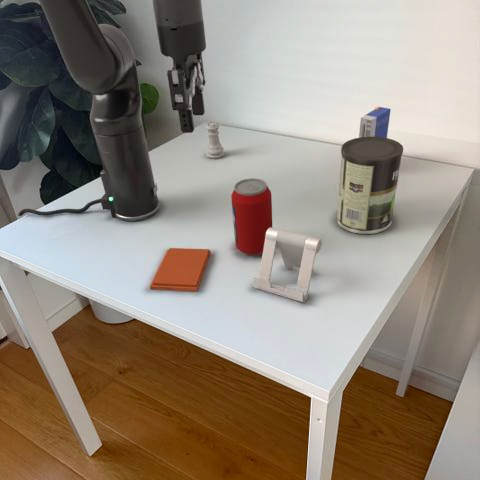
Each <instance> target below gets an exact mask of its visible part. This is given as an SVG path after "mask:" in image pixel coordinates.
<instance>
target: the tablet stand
mask: <svg viewBox="0 0 480 480" xmlns="http://www.w3.org/2000/svg"><path fill="white" fill-rule="evenodd" d="M322 245H323V240H322V238H317V237H313V236H308V235H305V234H300V233H296V232H292V231H288V230H284V229H280V228H276V227H272V228H271V227H269V228H268V230H267V232H266V237H265V243H264V249H263V253H262V256H261V262H260V269H259V272H258V273H259V274H258V277H254V278H253V279H252V280H253V281H252V282H253V283H252V285H253V288H255V289H258V290H260V291H265V292H268V293H272V294H275V295H278V296H281V297H285V298H288V299H291V300H294V301H297V302H301V303H305V302H306V300H307V298H308V294H309V289H310V283H311V279H312V274H313V271H314V266H315V265H314V264H315V259H316V256H317V255H318V254H319V253H320V251H321V249H322ZM277 246H278V250H279V253H280V255H281V258H282V261H283V265H284V267H285V268H286V269H288V270H290V271H294V268H298V269H299V273H298V278H297V282H296V287H295V289H294V288H291V287H287V286H285V287H284V286H280V285H277V284H273V283H272V282H271V278H272V277H271V276H272V270H273V264H274V258H275V252H276V247H277Z"/></svg>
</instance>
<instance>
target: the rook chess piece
mask: <svg viewBox="0 0 480 480" xmlns="http://www.w3.org/2000/svg"><path fill="white" fill-rule="evenodd" d="M219 128H220V125H219V124H218V121H217V120H213V121H212V120H209V121H207V122H206V125H205V129H206V130H207V135H208V144H207V147H206V156H207V158H209V159H213V160H214V159H215V160H216V159H221V158H222V157H224V155H225V151H224V149H225V148H224V146H222V143H221V141H220V137H219V134H220V132H219Z"/></svg>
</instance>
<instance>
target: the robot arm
mask: <svg viewBox="0 0 480 480" xmlns="http://www.w3.org/2000/svg"><path fill="white" fill-rule="evenodd" d="M38 2H39V4H40V6H41V8H42V10H43V13H44V15H45V18H46V20H47V21H48V25H49V27H50V29H51V32H52V34H53V35H52V36H53V37H54V39H55V42H56V44H57V47H58V50H59V52H60V55H61V57H62V59H63V62H64V64H65V66H66V69H67V71H68V72H69V74H70V76H71V77H72V79H73V81H74V82H75V83H76V84H77V85H78V86H79V87H80V88H81V89H82V90H84V91H85V92H87V93H88V94H91V95H92V103H91V109H90V113H89V121H90V126H91V130H92V134H93V136H94V140H95V144H96V148H97V151H98V155H99V158H100V163H101V166H102V170H101V171H100V173H99V175H100V179H101V182H102V186H103V190H104V193H103V195H102V197H100V198H98V199H95V200H91V201H89V202H87V203H86V204H85V205H84V206H83V207H81V208H60V209H55V210H48V211H41V210H36V209H34V208H33V209H32V208H23V209H20V211H19V212H18V214H17V216H18V217H21V216H23V215H24V214H26V213H28V214H33V215H38V216H43V217H44V216H45V217H47V216H54V215H58V214H69V213H70V214H81V213H84V212H87V210H88V209H89V208H91V207H92V206H94V205H98V204H100V205H101V208H102V210H104V211H105V210H106V211H110V215H111V217H112V218H117V219H119V220H120V221H125V222H137V221H143V220H147V219H149V218H151V217H153V216H154V215H156V214H157V213H158V212H159V211H160V201H159V198H158V189H159V188H158V185H157V184H158V183H156V182H155V178H154V173H153V168H152V163H151V157H150V152H149V148H148V143H147V139H146V134H145V133H146V132H145V129H144V124H143V118H142V110H143V109H142V107H143V99H142V93H141V86H140V85H141V84H140V79H139V74H138V68H137V63H136V57H135V54H134V50H133V48H132V45H131V43H130V41H129V39H128V38H127V36H126V35H125V33H124V32H122V31H121V30H120V29H119V28H117V27H116V26H114V25H112V24H107V23H99V24H98V22H97V19H96V17H95V15H94V14H93V11H92V8H91V7H90V5H89V3H88V0H38ZM152 8H153V13H154V20H155V21H154V22H155V26H156V30H157V32H156V33H157V38H158V44H159V50H160V53H161V55H162V56H164V57H167V58H168V57H169V58H170V59H172V65H173V66H172V68H171V69H168V70H167V71H166V76H167V81H168V88H169V95H170V102H171V108H172V111H177V113H178V119H179V125H180V131H181V132H182V133H183V134H192V133H193V132H194V131H195V123H194V116H204V115H205V112H206V109H205V100H204V92H205V88H204V86H206V77H205V76H206V75H205V70H204V63H203V52H204V51H205V50H206V49H207V42H206V41H207V40H206V31H205V22H204V15H203V4H202V0H152ZM181 98H182V99H181ZM181 100H182V101H181Z"/></svg>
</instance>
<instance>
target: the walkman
mask: <svg viewBox="0 0 480 480" xmlns="http://www.w3.org/2000/svg"><path fill="white" fill-rule="evenodd" d="M391 110H392V109H391V108H389V107H382V106H377V107H375V108H374V109H373V110H371V111H369V112H368V113H366V114H364V115H363V116H361V117H360V123H359V132H358V133H359V134H358V138H360V137H384V138H388V134H389V133H388V131H389V124H390V119H391V118H390V117H391Z"/></svg>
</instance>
